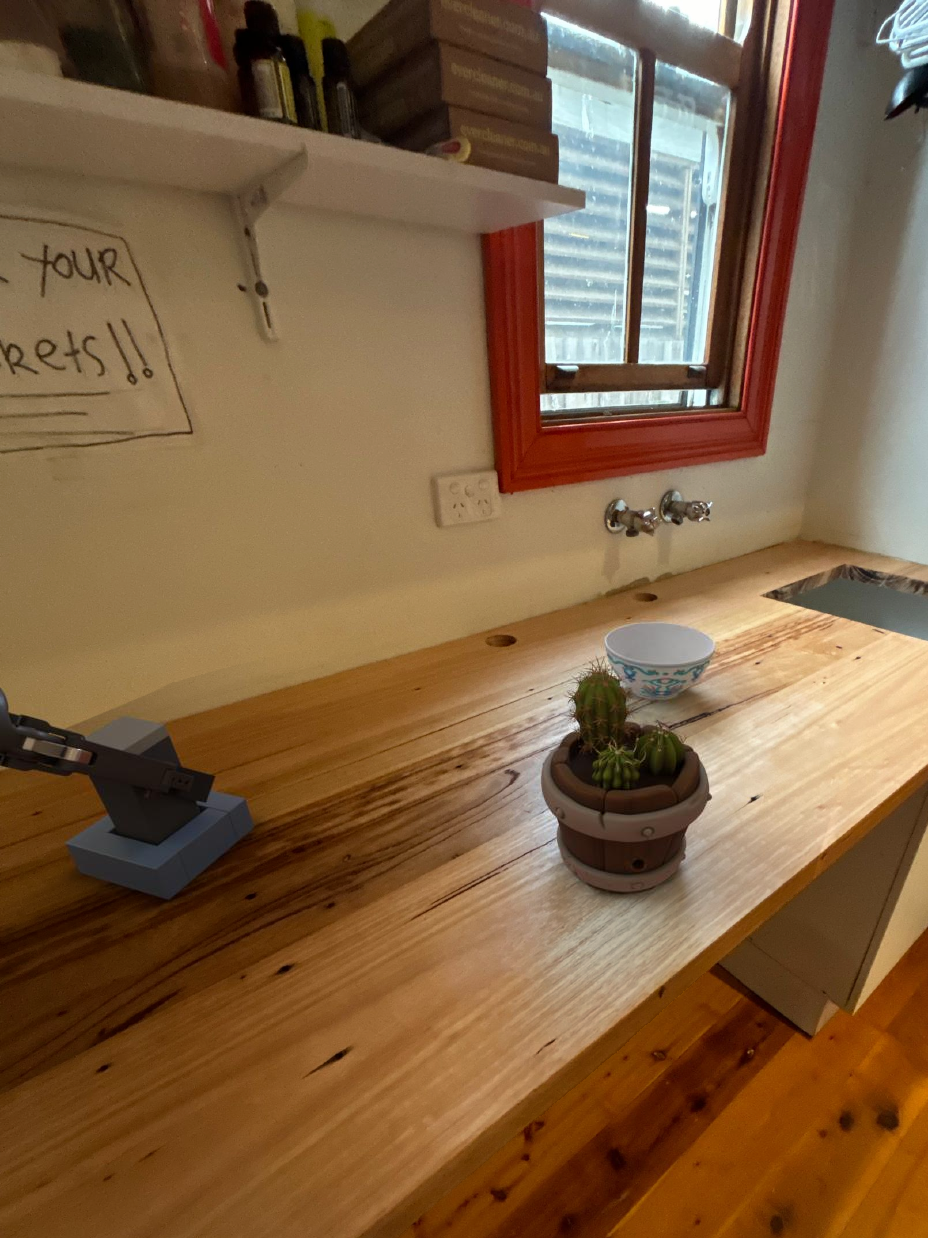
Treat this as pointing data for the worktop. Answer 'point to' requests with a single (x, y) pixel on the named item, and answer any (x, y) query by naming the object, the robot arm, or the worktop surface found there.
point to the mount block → (163, 848)
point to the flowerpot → (621, 791)
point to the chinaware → (658, 657)
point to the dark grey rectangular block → (126, 801)
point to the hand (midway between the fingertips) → (184, 783)
